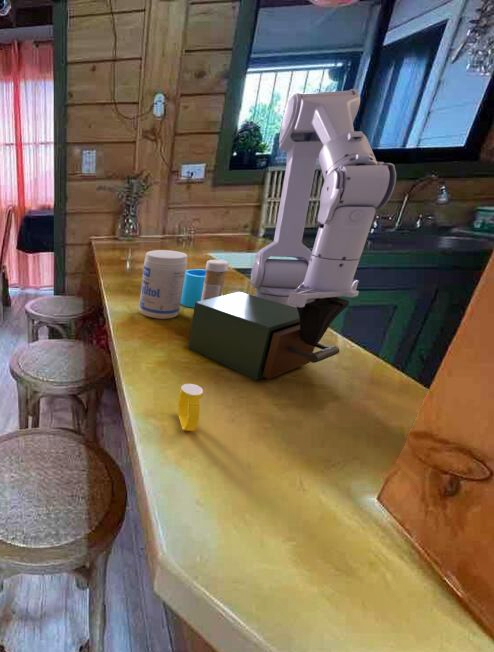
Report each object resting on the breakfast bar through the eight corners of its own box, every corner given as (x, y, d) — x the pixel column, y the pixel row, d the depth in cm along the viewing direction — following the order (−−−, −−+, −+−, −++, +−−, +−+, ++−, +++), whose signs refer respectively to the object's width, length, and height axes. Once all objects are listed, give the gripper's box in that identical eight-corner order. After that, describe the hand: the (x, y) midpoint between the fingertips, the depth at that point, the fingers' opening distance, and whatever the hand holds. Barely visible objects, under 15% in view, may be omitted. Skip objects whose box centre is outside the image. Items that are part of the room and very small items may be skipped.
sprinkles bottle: (222, 317, 89) (233, 261, 83) (210, 322, 87) (221, 264, 81) (205, 312, 92) (214, 258, 87) (193, 316, 90) (202, 260, 85)
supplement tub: (131, 313, 93) (136, 253, 87) (151, 304, 99) (158, 248, 93) (166, 323, 87) (175, 259, 80) (186, 313, 92) (195, 253, 86)
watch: (171, 411, 55) (176, 376, 53) (191, 412, 55) (197, 377, 52) (179, 437, 50) (185, 399, 47) (200, 439, 49) (208, 401, 47)
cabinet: (300, 362, 68) (315, 313, 64) (256, 380, 63) (269, 327, 59) (230, 335, 80) (239, 291, 76) (187, 347, 75) (195, 302, 71)
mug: (214, 309, 94) (220, 277, 91) (180, 307, 96) (184, 276, 93) (209, 295, 105) (214, 266, 101) (178, 293, 107) (182, 265, 103)
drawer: (339, 374, 62) (354, 331, 59) (298, 392, 57) (312, 346, 54) (240, 336, 77) (248, 300, 74) (201, 348, 72) (208, 310, 69)
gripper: (337, 268, 48) (308, 361, 54) (393, 255, 54) (362, 340, 60) (283, 258, 54) (262, 344, 59) (339, 247, 60) (315, 326, 65)
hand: (309, 341), depth 60 cm, fingers closed
